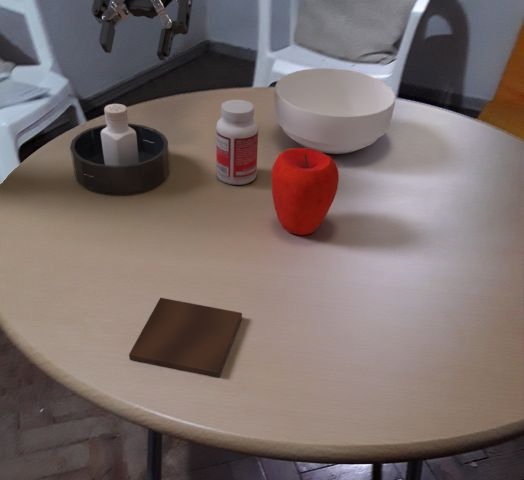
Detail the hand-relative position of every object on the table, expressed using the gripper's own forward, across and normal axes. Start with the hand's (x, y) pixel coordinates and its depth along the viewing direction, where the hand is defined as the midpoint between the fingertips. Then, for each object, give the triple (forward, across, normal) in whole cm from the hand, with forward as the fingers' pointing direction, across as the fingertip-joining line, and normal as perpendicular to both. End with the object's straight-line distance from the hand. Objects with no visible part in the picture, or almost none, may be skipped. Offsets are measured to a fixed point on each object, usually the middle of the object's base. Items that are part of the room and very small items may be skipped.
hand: (133, 54), depth 92 cm
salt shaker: (+16, 0, +4) cm, 17 cm away
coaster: (+40, +21, -19) cm, 49 cm away
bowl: (+2, +29, +19) cm, 35 cm away
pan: (+16, 0, +4) cm, 17 cm away
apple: (+21, +29, 0) cm, 36 cm away
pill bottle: (+14, +17, +7) cm, 23 cm away
